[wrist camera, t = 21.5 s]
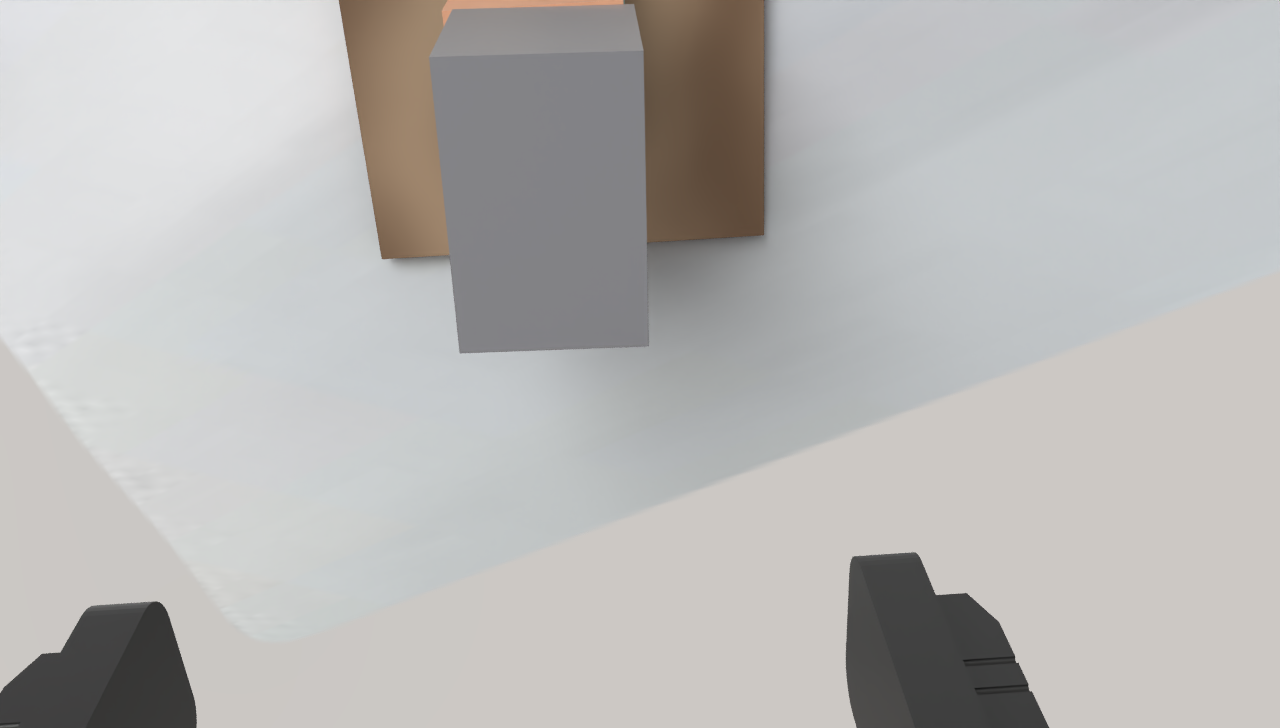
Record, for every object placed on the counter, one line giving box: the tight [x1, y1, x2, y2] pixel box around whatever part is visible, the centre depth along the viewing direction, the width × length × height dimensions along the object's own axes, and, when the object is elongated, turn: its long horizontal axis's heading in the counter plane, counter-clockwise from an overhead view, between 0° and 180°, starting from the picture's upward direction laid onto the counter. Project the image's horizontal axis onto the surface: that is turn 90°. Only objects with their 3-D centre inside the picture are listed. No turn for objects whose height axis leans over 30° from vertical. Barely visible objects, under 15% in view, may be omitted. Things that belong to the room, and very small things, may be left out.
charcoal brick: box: [429, 4, 649, 353], centre depth 28 cm, size 4×7×5 cm, turn 1°
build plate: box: [339, 0, 764, 259], centre depth 38 cm, size 14×14×6 cm
